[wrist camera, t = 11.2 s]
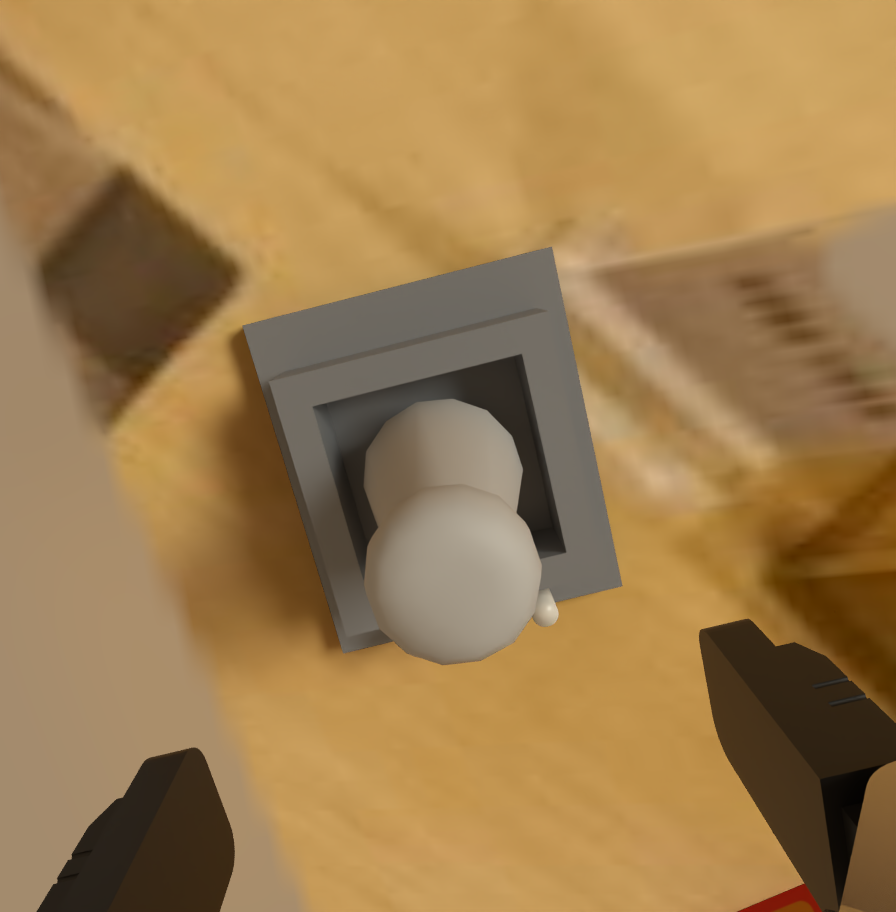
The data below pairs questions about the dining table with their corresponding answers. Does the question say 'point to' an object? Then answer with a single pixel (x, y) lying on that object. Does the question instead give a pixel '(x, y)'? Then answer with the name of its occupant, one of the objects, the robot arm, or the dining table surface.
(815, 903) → the baking soda box
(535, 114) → the dining table surface
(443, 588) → the salt shaker
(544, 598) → the socket
